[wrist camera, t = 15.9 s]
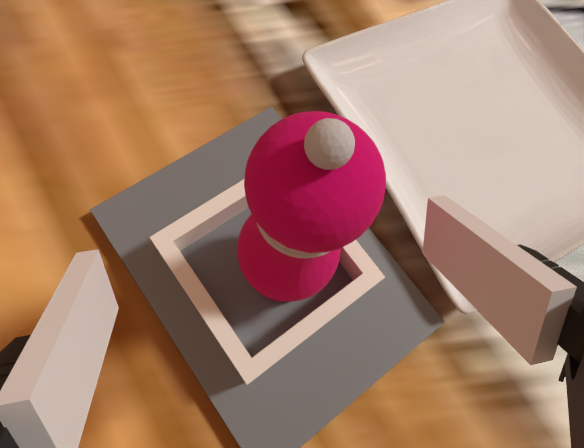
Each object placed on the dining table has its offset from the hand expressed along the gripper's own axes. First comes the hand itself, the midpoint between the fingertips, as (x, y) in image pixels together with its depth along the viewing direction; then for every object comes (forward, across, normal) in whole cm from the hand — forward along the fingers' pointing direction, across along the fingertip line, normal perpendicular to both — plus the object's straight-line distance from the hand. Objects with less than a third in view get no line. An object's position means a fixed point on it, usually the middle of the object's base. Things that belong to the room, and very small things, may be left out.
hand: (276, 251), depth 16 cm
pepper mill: (+13, +2, -9) cm, 16 cm away
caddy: (+14, +1, -10) cm, 17 cm away
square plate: (+21, +24, -4) cm, 32 cm away
